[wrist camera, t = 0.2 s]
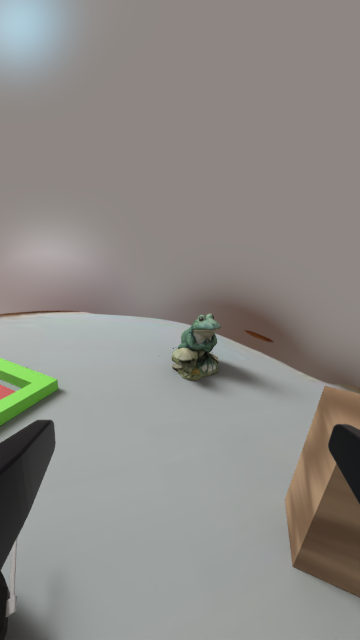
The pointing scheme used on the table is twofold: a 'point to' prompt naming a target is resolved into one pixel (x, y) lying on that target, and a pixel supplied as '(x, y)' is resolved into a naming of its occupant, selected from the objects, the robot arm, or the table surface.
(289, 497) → the walnut pillar
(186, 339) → the frog figurine
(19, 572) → the table surface
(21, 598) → the table surface
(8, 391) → the toy blocks
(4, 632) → the robot toy
